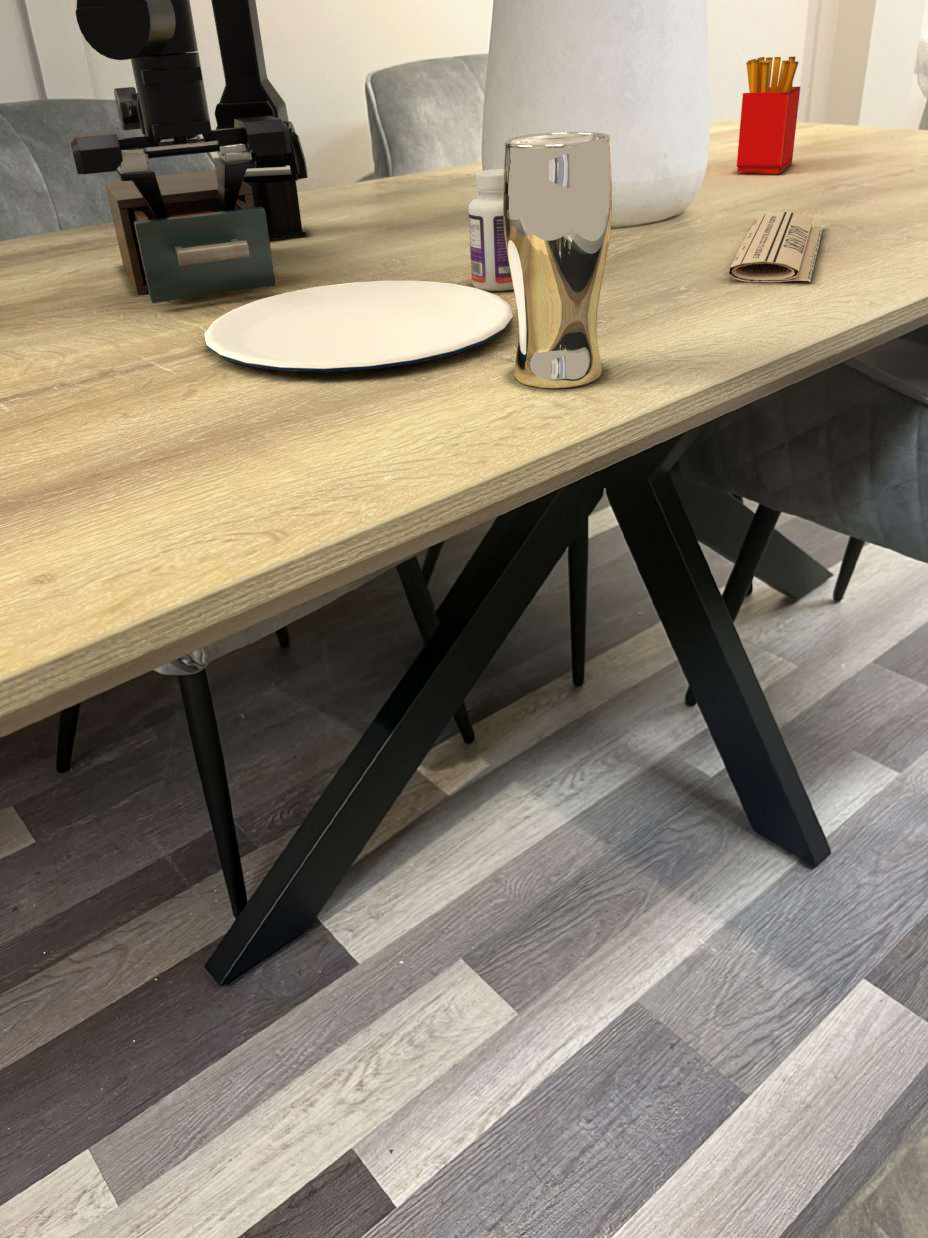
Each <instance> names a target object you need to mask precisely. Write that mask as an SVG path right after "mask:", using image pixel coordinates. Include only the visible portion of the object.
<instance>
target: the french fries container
mask: <svg viewBox="0 0 928 1238" xmlns="http://www.w3.org/2000/svg"><path fill="white" fill-rule="evenodd" d="M796 56H797V55H796ZM796 56H788V59H785V60H783V59H782V57H781V56H774V58H773V57H770V56H769V57H765V56H761V57H756V58H753V59H749V60H747V61H746V62H745V65H746V73H747V82H748V83H747V84H748V92H743V93H742V98H741V99H742V100H741V109H740V120H739V122H740V123H739V134H738V145H737V157H736V168H737V170H736V172H737V173H741V174H781V173H783V172H784V171H786V169H787V168H789V167H790V166H791V165H792V164H793V157H794V150H795V149H794V147H795V139H796V130H797V121H798V112H799V104H800V94H801V87H802V86H793V85H794V84H793V82H794V79H795V75H796V72H797V69H798V66H799V63H800V62H799V61H797V60H796ZM781 60H782V61H781Z"/></svg>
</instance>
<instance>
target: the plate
mask: <svg viewBox="0 0 928 1238" xmlns="http://www.w3.org/2000/svg"><path fill="white" fill-rule="evenodd" d="M513 319H514V316H513V311H512V306H511V304H509V303H508V302H507V301H505V300H504V299H503V298H501V297H500V296H499V295H497V294H494V293H491V292H490V291H484V290H480V289H477V288H475V287H474V286H467V285H462V284H456V283H451V282H440V281H427V280H373V281H372V280H369V281H354V282H344V283H336V284H335V283H334V284H329V285H320V286H313V287H307V288H303V289H297V290H291V291H287V292H282V293H279V294H275V295H271V296H268V297H264V298H260V299H256V300H254V301H252V302H248V303H246V304H244V305H241V306H237V307H236V308H233V309H231V310H229V311H228V312H226V313H224V314H223V315H221V316H219V317H218V318H216V319H214V320H213V321H212V323H211V324H210V325H209V327H208V328H207V330H206V331H205V332H204V334H203V335H204V339H205V345H206V348H207V349H208V350H209V351H211V352H213V353H214V354H216V355H217V356H219V357H220V358H221V359H222V360H223V359H224V360H227V361H229V362H233V363H237V364H239V365H243V366H246V367H250V368H259V369H266V370H271V371H279V372H301V373H302V372H304V373H337V372H354V371H370V370H378V369H386V368H393V367H400V366H406V365H407V366H408V365H414V364H418V363H423V362H426V361H432V360H436V359H439V358H440V359H441V358H445V357H448V356H449V357H450V356H453V355H455V354H458V353H461V352H464V351H466V350H470V349H472V348H475V347H478V346H480V345H483V344H485V343H486V342H488V341H490V340H492V339H493V338H495V337H496V336H498V335H500V334H502V333H503V332H505V330H506V329H507V327H508V326H509V325H510V324H511V322H512V321H513Z"/></svg>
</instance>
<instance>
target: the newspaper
mask: <svg viewBox="0 0 928 1238" xmlns="http://www.w3.org/2000/svg"><path fill="white" fill-rule="evenodd" d="M813 221H814V218H812V217H810V216H808V215H806V214H804V213H801V212H800V213H799V212H794V211H793V212H792V211H791V212H790V211H775V212H769V213H765V214H761V215H758V216H755V218H754V220H753V222H752V223H751V226H750V227H749V230H748V231H747V234H745V237H744V238H743V241H742V243H741V245H740V247H739V248H738V250H737V252H736V254H735V256H734V258H733V260H732V262H731V264H730V266H729V268H728V273H727V275H729V276H730V277H731V278H732V279H734V280H738V281H742V282H745V283H784V282H793V281H795V282H796V281H799V282H801V281H803V282H809V283H811V282H812V277H813V274H814V269H815V264H816V260H817V255H818V251H819V247H820V242H821V238H822V234H823V229H824V228H823V227H821V226H813Z"/></svg>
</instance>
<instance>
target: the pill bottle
mask: <svg viewBox="0 0 928 1238" xmlns="http://www.w3.org/2000/svg"><path fill="white" fill-rule="evenodd" d="M503 178H504V168H494V169H485V170H479V171H476V172H475V173H474V187H475V192H477V196H476V197H475V198H473V199H472V200H471V201H470V202H469V204H468V206H467V207H468V211H467V212H468V213H467V214H468V231H469V232H468V233H469V235H468V236H469V252H470V253H469V254H470V255H469V256H470V270H471V273H470V275H471V284H472V287H473V288H477V289H480V290H483V291H486V292H507V291H514V287H513V282H512V277H511V271H510V266H509V261H508V255H507V249H506V242H505V235H504V219H503Z"/></svg>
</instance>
